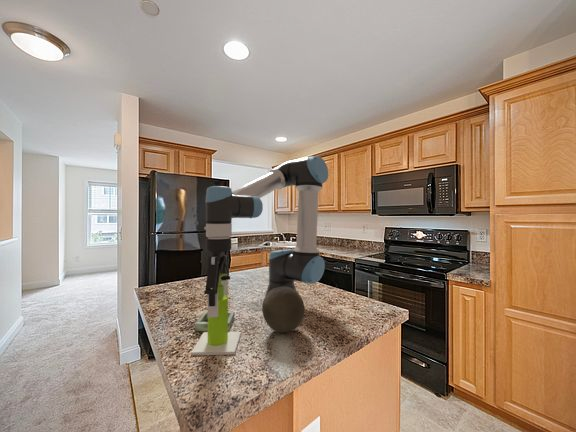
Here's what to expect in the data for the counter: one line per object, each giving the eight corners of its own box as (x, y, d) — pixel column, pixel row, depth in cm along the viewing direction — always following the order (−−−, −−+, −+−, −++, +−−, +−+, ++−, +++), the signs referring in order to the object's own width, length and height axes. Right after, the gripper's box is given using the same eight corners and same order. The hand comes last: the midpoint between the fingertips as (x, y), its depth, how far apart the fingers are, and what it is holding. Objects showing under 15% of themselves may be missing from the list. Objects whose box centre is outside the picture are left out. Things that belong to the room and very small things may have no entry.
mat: (240, 334, 82) (240, 331, 82) (234, 354, 70) (234, 351, 70) (203, 334, 82) (203, 332, 82) (191, 355, 70) (191, 352, 70)
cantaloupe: (264, 322, 91) (265, 281, 91) (303, 323, 91) (304, 282, 91) (259, 342, 77) (259, 293, 77) (305, 343, 77) (305, 294, 77)
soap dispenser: (233, 336, 79) (233, 273, 79) (220, 347, 72) (220, 278, 72) (217, 333, 81) (217, 271, 81) (203, 343, 74) (203, 276, 74)
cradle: (234, 318, 95) (234, 311, 95) (229, 330, 85) (229, 323, 85) (203, 318, 95) (203, 311, 95) (194, 331, 84) (194, 323, 84)
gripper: (216, 234, 88) (215, 294, 88) (192, 242, 63) (192, 326, 63) (237, 234, 89) (237, 294, 89) (222, 242, 64) (222, 325, 64)
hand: (218, 307), depth 76 cm, fingers open, 13 cm apart
